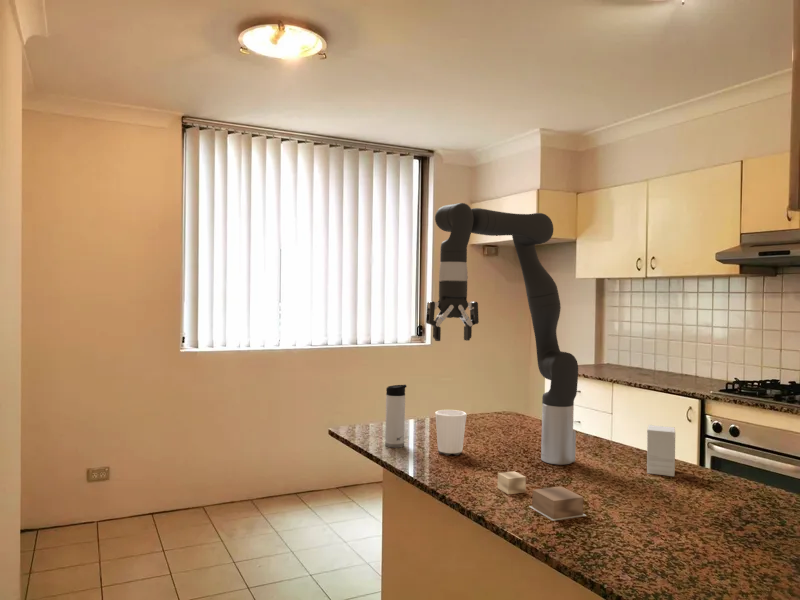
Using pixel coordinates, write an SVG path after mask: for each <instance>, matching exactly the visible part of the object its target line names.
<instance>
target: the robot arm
mask: <svg viewBox="0 0 800 600" xmlns="http://www.w3.org/2000/svg"><path fill="white" fill-rule="evenodd" d="M434 215H435V216H434V220H435V224H436V226H437V227H438V229H440V230H442V231H444V232H447V233H450V234H449V237H448V238H447V239H445V240H443V241H442V242H441V244H440V255H439V257H440V261H439V262H440V264H439V272H438V273H439V274H438V301H432V300H430V301H427V302H426V304H427V305H426V315H425V316H426V319H425V323H426V324H427V325H431V326H432V327H433V328H432V338H433V339H434V341H435V342H441V334H442V332H441V331H442V330H441V329H442V328H441V324H443V322H444V321H445V320H446V319H447V318H449V319H452V318H453V319H455V318H456V319H458V318H459V319H460V321H461V322H462V323H463V325H464V326H463V341H470V339H472V331H473V330H472V328H473V326H474V325H478V324H479V323H480V322H479V320H480V319H479V303H478V302H477V301H470V302H468V278H469V276H468V263H467V262H468V259H467V258H468V256H467V255H468V245H469V242H470V239H471V233H472V234H476V235H482V236H491V237H494V236H495V237H496V236H499V237H500V236H501V237H502V236H511V237H512V241H513V245H514V248H515V250H516V254H517V258H518V261H519V264H520V268H521V272H522V277H523V282H524V287H525V293H526V297H527V303H528V309H529V312H530V316H531V323H532V328H533V333H534V338H535V348H536V350H535V351H536V359H537V360H536V361H537V366H538V369H539V373H540V375H541V376H542V377H543V378H544V379H547V380H549V381H550V387H549V390H548V391H547V392H544V393H543V394H542V397H541V398H542V400H541V403H542V404H541V406H542V407H541V442H540V444H541V446H540V447H541V448H540V449H541V450H540V451H541V452H540V460H541V461H542V462H544V463H547V464H550V465H551V464H552V465H570V464H572V463H575V462H576V447H577V445H576V444H577V443H576V442H577V441H576V438H577V435H576V434H577V432H576V429H574V405H575V402H574V401H575V398H576V396H577V394H578V380H579V365H578V360H577V358H576V357H575V356H574V355H573V354H572V353H569V352H567V351H561V350H560V346H559V342H558V338H557V337H558V335H557V327H558V324H559V321H560V320H559V319H560V316H561V315H560V314H561V310H562V309H561V308H562V307H561V300H560V295H559V291H558V286H557V284H556V282H555V281H554V279H553V277H552V276H551V275H550V273H549V272H548V271H547V269H545V267H544V266H543V265H542V263H541V261H540V259H539V256H538V253H537V249H536V245H541V244H542V245H543V244H545V243H548V241H550V240H551V238H552V237H553V235H554V224H553V221H552V219H551V218H550V216H548V215H547V214H545V213H542V212H535V213H512V212H504V211H498V210H492V209H486V208H481V207H480V208H479V207H472V208H471V206H470V205H469V204H467V203H465V202H459V203H453V204H452V203H451V204H446V205H443V206H441V207H439V208H438V209H437V210H436V213H435V214H434ZM437 308H438V310H439V312H438V313H437V314H436V317H435V312H436V309H437ZM467 309H468V310H469V312H470V313H469V315H468V314H467V312H466V310H467ZM469 316H470V317H469Z"/></svg>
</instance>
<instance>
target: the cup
mask: <svg viewBox="0 0 800 600" xmlns="http://www.w3.org/2000/svg"><path fill="white" fill-rule="evenodd" d="M434 413H435V426H436V429H435V430H436V441H437V442H436V443H437V452H438V454H440V455H441V454H444V456H447V457H448V456H450V455H453V456H456V457H457V456H459V455H460V454H462V452H463V448H464V441H465V440H464V439H465V430H466V421H467V413H466V412H465V411H463V410H458V409H457V410H456V409H439V410H437V411H435V412H434Z"/></svg>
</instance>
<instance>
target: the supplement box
mask: <svg viewBox="0 0 800 600" xmlns="http://www.w3.org/2000/svg"><path fill="white" fill-rule="evenodd" d="M646 431H647V432H646V435H647V437H646V439H647V441H646V443H647V446H646V448H647V449H646V450H647V451H646V473H647V474H651V475H658V476H659V475H660V476H666V477H667V476H668V477H675V471H676V470H675V468H676V428H675V427H674V426H663V425H652V424H648V427H647V430H646Z"/></svg>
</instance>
